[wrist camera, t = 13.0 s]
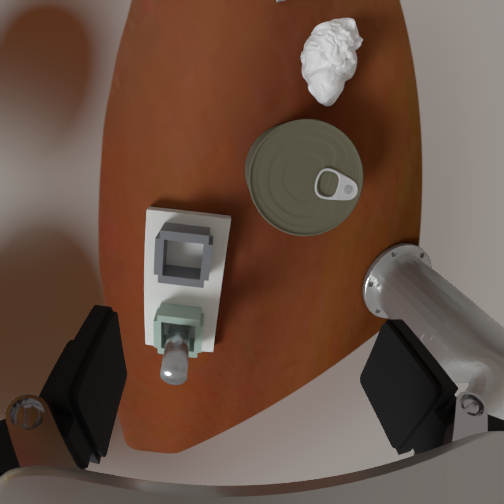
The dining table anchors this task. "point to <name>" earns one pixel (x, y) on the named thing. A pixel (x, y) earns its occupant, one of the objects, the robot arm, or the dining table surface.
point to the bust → (330, 58)
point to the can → (304, 176)
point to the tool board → (183, 274)
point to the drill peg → (176, 354)
